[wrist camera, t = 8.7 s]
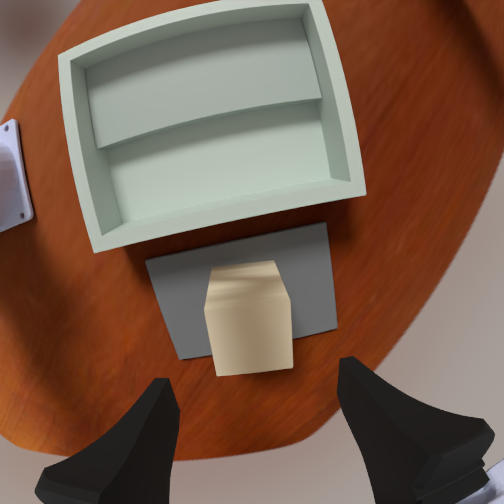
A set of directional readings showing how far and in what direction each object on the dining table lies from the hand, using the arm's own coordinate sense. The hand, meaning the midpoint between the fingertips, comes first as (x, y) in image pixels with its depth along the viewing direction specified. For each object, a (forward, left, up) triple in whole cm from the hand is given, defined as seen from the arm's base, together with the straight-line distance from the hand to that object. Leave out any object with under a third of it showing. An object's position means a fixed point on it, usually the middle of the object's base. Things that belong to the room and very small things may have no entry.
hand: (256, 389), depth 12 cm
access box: (0, +12, -9) cm, 15 cm away
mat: (0, 0, -9) cm, 9 cm away
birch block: (0, 0, -9) cm, 9 cm away
